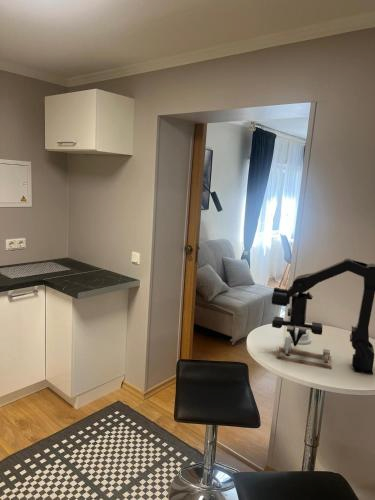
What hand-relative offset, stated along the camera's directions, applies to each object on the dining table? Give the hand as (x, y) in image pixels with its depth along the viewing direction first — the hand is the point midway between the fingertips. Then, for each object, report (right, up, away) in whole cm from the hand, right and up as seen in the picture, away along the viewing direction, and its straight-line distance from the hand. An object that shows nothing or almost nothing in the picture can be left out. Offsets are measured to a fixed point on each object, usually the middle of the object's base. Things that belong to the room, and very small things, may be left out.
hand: (295, 345), depth 148 cm
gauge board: (+3, -5, -2) cm, 6 cm away
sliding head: (-3, -2, 0) cm, 4 cm away
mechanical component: (+6, -2, +16) cm, 17 cm away
